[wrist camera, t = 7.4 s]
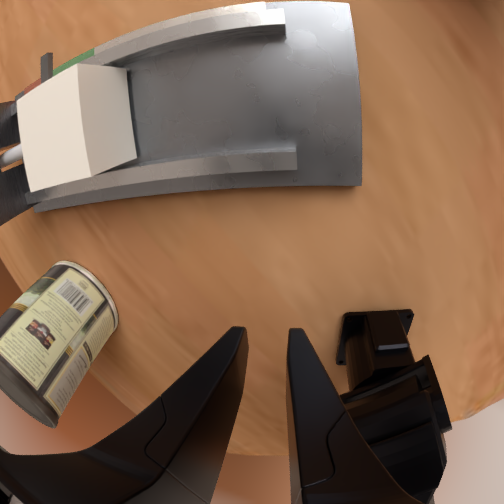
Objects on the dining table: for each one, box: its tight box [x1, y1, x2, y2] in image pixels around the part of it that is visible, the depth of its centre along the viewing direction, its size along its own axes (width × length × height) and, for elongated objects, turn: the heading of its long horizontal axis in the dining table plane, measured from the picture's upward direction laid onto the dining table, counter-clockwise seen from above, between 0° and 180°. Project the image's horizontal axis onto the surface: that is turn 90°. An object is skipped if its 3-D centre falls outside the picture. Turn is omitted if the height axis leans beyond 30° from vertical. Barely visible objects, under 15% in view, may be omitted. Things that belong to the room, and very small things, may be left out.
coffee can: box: [0, 261, 118, 428], centre depth 20 cm, size 10×10×14 cm
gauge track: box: [0, 1, 362, 226], centre depth 13 cm, size 12×28×7 cm, turn 95°
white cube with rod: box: [0, 53, 137, 192], centre depth 13 cm, size 9×15×5 cm, turn 95°
